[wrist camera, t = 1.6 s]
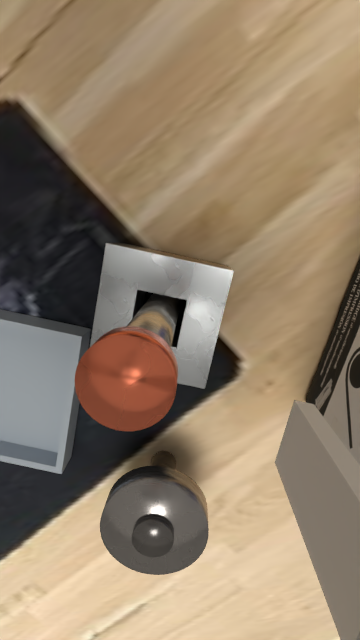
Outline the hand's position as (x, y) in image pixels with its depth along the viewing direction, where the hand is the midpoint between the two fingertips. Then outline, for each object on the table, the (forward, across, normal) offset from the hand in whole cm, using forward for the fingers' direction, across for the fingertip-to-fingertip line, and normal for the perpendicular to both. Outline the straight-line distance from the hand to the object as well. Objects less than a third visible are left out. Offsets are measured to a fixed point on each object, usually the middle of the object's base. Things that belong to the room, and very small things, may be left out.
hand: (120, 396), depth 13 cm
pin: (+17, 0, 0) cm, 17 cm away
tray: (+17, -11, -10) cm, 22 cm away
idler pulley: (+17, +3, -14) cm, 23 cm away
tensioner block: (+17, 0, 0) cm, 17 cm away
